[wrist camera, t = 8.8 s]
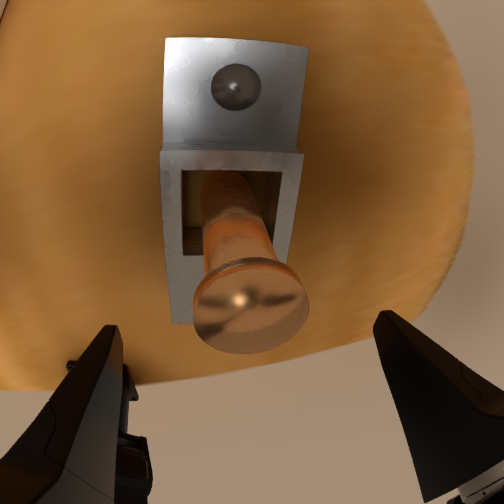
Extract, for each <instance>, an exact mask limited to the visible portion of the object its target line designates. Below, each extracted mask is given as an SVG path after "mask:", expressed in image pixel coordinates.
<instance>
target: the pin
mask: <svg viewBox="0 0 504 504" xmlns="http://www.w3.org/2000/svg"><path fill="white" fill-rule="evenodd" d="M201 214H202V235H203V253H204V269H205V277H204V278H203V280H202V281H201V282H200V283H199V285H198V287H197V288H196V291H195V293H194V297H193V322H194V327H195V330H196V332H197V334H198V335H199V337H200V338H201V339H202V340H203V341H204V342H205V343H206V344H208V345H210V346H211V347H213V348H215V349H218V350H220V351H224V352H228V353H234V354H250V353H257V352H262V351H266V350H269V349H272V348H274V347H276V346H279V345H281V344H282V343H284V342H286V341H287V340H289V339H290V338H291V337H293V336H294V335H295V334H296V333H297V332H298V331H299V330H300V329H301V327H302V326H303V324H304V323H305V321H306V319H307V316H308V312H309V301H308V297H307V295H306V292H305V290H304V288H303V285H302V283H301V280H300V278H299V277H298V275H297V274H296V273H295V272H294V270H292V269H291V268H290V267H289V266H287V265H285V264H284V263H282V262H279V261H278V259H277V256H276V254H275V251H274V248H273V246H272V243H271V240H270V238H269V235H268V232H267V230H266V227H265V224H264V222H263V219H262V217H261V214H260V211H259V209H258V206H257V204H256V201H255V198H254V196H253V193H252V191H251V188H250V186H249V183H248V181H247V180H246V178H245V177H244V176H243V175H241V174H240V173H238V172H236V171H233V170H220V171H217V172H215V173H213V174H211V175H210V176H209V177H208V178H207V179H206V180H205V181H204V183H203V185H202V188H201Z"/></svg>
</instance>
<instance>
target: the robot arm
mask: <svg viewBox="0 0 504 504" xmlns="http://www.w3.org/2000/svg"><path fill="white" fill-rule="evenodd" d="M373 334H374V338H375V342H376V345H377V349H378V353H379V357H380V361H381V365H382V368H383V371H384V374H385V377H386V379H387V382H388V385H389V388H390V391H391V394H392V396H393V399H394V402H395V405H396V408H397V411H398V414H399V417H400V420H401V424H402V427H403V430H404V433H405V436H406V440H407V443H408V446H409V449H410V453H411V456H412V458H413V459H412V460H413V464H414V467H415V471H416V474H417V477H418V482H419V485H420V489H421V493H422V497H423V500H424V503H427V502H429V501H431V500H433V499H436V498H438V497H440V496H442V495H444V494H446V493H448V492H450V491H452V490H454V489H456V488H457V489H458V491H459V495H457V496H455V497H453V498H452V499H450V500H449V501H447V504H504V391H503V390H501V389H500V388H498V387H497V386H495V385H493V384H492V383H490V382H489V381H487V380H486V379H484V378H483V377H481V376H480V375H478V374H477V373H475V372H474V371H472V370H471V369H470V368H468V367H467V366H466V365H465V364H463V363H462V362H461V361H460V362H459V360H458V359H457V358H455V357H454V356H453V355H451V354H450V353H449V352H448V351H446V350H445V349H444V348H442V347H441V346H440V345H438V344H437V343H435V342H434V341H433V340H431V339H430V338H429V337H427V336H426V335H425V334H423V333H422V332H421V331H419V330H418V329H417V328H415V327H414V326H412V325H411V324H410V323H409V322H407V321H406V320H404V319H403V318H402V317H400V316H399V315H398V314H396V313H395V312H393V311H392V310H384V311H381V312H380V313H379V315H378V317H377V319H376V321H375V323H374V325H373ZM66 368H67V370H68V371H69V373H68V374H67V375H66V377H65V378H64V379H63V381H62V382H61V383H60V385H59V386H58V388H57V389H56V390H55V392H54V393H53V395H52V396H51V398H50V399H49V401H50V402H49V401H48V402H47V403H46V405H45V406H44V407H43V409H42V410H41V412H40V413H39V414H38V416H37V417H36V418H35V420H34V421H33V422H32V423H31V425H30V426H29V427H28V428H27V430H26V431H25V432H24V433H23V434H22V435H21V437H20V438H19V439H18V440H17V441H16V442H15V444H14V445H13V446H12V447H11V448H10V450H9V451H8V452H7V453H6V454H5V455H4V456H3V457H2V458H1V459H0V504H148V503H147V496H148V495H149V494H150V491H151V488H152V481H153V476H152V475H153V474H152V467H151V462H150V457H149V451H148V445H147V439H146V437H142V436H140V437H138V436H134V435H130V434H127V427H128V409H129V401H137V400H138V393H137V391H136V388H135V386H134V383H133V380H132V378H131V375H130V372H129V370H128V367H127V366H125V365H123V341H122V338H121V335H120V332H119V328H118V326H117V325H105V326H104V327H103V328H102V329H101V330H100V332H99V333H98V334H97V336H96V337H95V338H94V339H93V341H92V342H91V343H90V345H89V346H88V347H87V349H86V350H85V351H84V352H83V354H82V355H81V356H80V358H79V359H78V360H77V362H67V365H66Z"/></svg>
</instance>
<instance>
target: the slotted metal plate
mask: <svg viewBox="0 0 504 504" xmlns="http://www.w3.org/2000/svg"><path fill="white" fill-rule="evenodd" d="M308 49H309V47H303V46H297V45H290V44H282V43H274V42H266V41H256V40H244V39H228V38H166V44H165V62H164V87H163V144H162V146H161V149H160V181H161V204H162V221H163V236H164V249H165V261H166V272H167V282H168V292H169V301H170V309H171V318H172V324H190V323H194V322H193V297H194V293H195V291H196V288H197V287H198V285H199V283H200V282H201V281H202V280H203V278H204V277H205V269H204V253H203V235H202V228H184V208H183V170H248V171H268V177H267V186H266V195H265V203H264V212H263V222H264V224H265V227H266V230H267V232H268V235H269V238H270V240H271V243H272V246H273V248H274V251H275V254H276V256H277V259H278V261H279V262H282V263H284V264H285V265H286V261H287V256H288V250H289V245H290V239H291V233H292V228H293V222H294V216H295V210H296V204H297V198H298V192H299V186H300V180H301V173H302V167H303V160H304V153H303V152H302V151H301V150H300V149H299V148H298V147H297V146H296V143H297V135H298V128H299V121H300V113H301V106H302V98H303V90H304V82H305V74H306V66H307V57H308Z"/></svg>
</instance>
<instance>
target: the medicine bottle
mask: <svg viewBox="0 0 504 504" xmlns="http://www.w3.org/2000/svg"><path fill="white" fill-rule="evenodd" d="M6 2H7V0H0V19H1V16H2V13H3V10H4V7H5V5H6Z"/></svg>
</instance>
